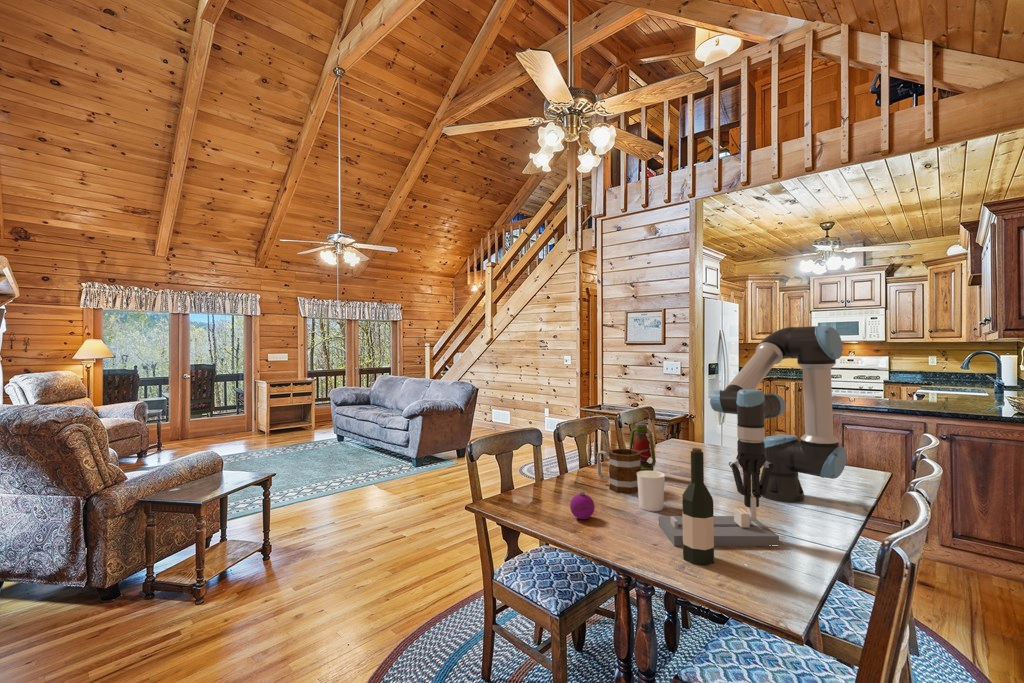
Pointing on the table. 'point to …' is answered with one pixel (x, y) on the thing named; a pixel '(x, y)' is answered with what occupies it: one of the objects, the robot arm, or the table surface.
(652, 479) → the candle holder
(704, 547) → the wine bottle
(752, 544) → the panel
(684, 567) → the table surface
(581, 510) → the christmas ornament
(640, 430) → the lantern
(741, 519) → the fader
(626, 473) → the mug
